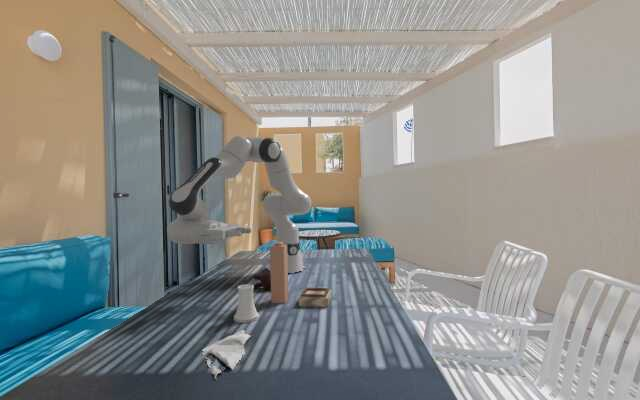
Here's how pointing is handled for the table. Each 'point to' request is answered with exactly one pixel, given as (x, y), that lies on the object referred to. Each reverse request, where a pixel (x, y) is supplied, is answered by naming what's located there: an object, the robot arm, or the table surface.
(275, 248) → the pillar
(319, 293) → the base
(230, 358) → the cloth
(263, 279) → the icecream
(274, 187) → the robot arm
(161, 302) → the table surface
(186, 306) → the table surface
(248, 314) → the vase
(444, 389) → the table surface
